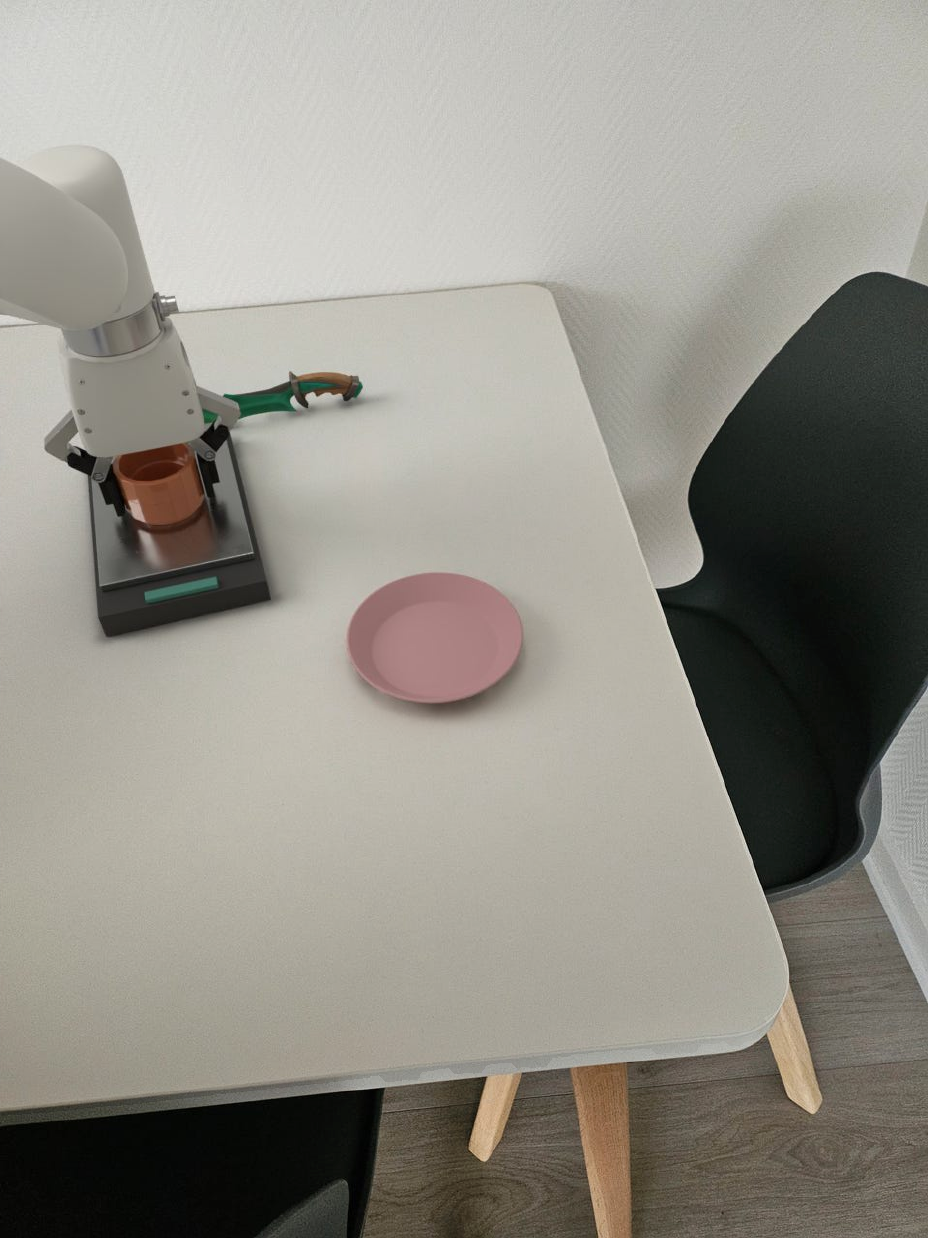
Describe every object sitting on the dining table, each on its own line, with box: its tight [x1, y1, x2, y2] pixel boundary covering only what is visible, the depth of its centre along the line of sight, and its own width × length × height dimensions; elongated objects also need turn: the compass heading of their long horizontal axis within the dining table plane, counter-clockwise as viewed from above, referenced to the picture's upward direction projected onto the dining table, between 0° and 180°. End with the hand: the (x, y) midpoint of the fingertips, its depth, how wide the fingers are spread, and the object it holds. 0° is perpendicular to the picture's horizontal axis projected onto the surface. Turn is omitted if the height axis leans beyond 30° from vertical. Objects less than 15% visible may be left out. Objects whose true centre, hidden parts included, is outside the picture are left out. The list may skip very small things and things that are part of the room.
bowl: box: [113, 443, 205, 525], centre depth 88 cm, size 7×7×5 cm
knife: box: [202, 370, 364, 424], centre depth 102 cm, size 21×2×5 cm, turn 108°
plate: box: [346, 571, 524, 704], centre depth 80 cm, size 14×14×2 cm
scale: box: [87, 422, 272, 638], centre depth 91 cm, size 14×24×3 cm, turn 17°
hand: (165, 496), depth 89 cm, fingers open, 7 cm apart
